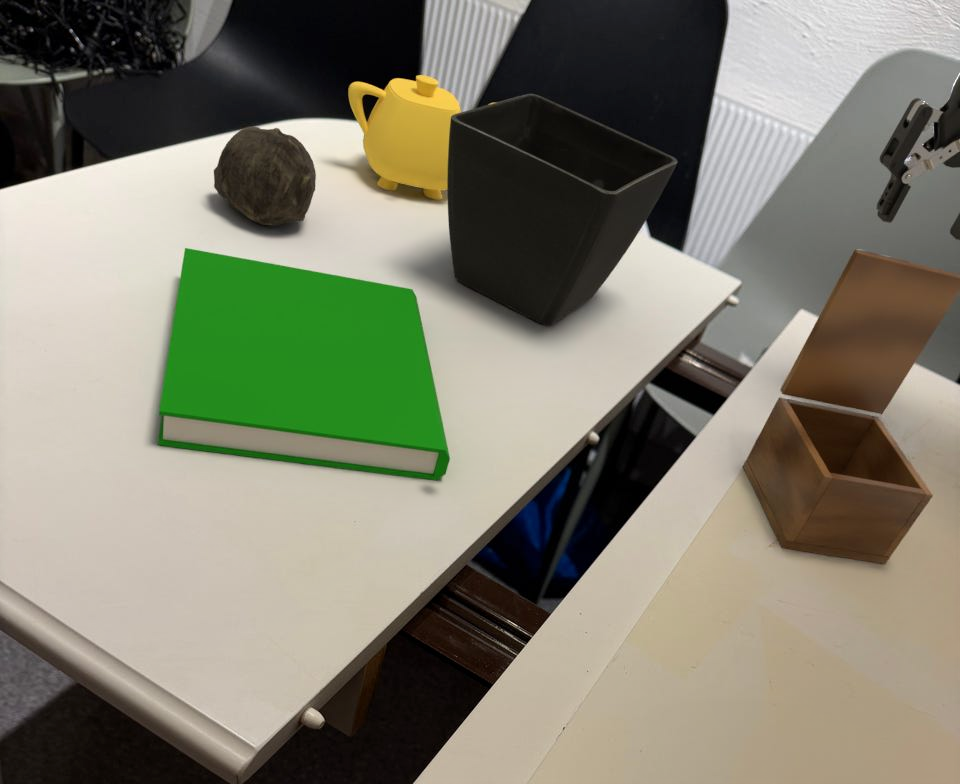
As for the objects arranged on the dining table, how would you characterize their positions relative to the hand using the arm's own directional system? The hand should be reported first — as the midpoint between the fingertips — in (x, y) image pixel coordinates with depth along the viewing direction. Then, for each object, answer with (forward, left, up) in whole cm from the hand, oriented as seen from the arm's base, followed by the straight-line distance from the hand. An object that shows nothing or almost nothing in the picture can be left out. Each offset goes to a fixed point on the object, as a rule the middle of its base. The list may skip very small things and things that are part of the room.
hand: (919, 228), depth 97 cm
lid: (+10, +18, -5) cm, 21 cm away
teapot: (+46, -38, -20) cm, 63 cm away
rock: (+64, -17, -20) cm, 70 cm away
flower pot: (+34, -12, -20) cm, 42 cm away
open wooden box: (+10, +24, -20) cm, 33 cm away
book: (+58, +15, -20) cm, 63 cm away
